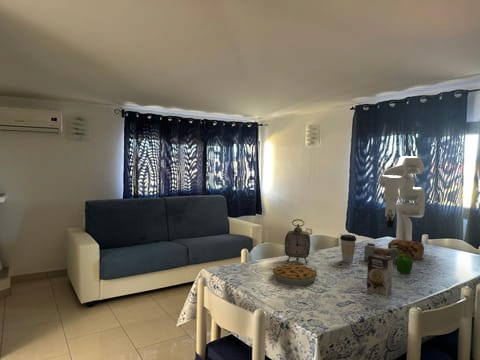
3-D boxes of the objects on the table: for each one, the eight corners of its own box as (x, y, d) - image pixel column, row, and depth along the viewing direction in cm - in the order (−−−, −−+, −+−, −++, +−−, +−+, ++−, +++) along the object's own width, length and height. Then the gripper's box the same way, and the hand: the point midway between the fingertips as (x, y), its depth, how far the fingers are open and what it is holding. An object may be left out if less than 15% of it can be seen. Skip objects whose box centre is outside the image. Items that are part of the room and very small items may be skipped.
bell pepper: (410, 271, 182) (411, 252, 181) (413, 275, 174) (414, 256, 173) (393, 269, 184) (394, 251, 184) (396, 274, 176) (397, 255, 176)
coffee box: (366, 290, 153) (367, 255, 152) (372, 286, 158) (373, 252, 157) (386, 296, 147) (387, 259, 146) (392, 292, 151) (393, 256, 150)
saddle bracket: (390, 260, 202) (391, 245, 201) (396, 261, 200) (396, 246, 200) (390, 264, 194) (390, 248, 194) (395, 264, 193) (396, 249, 192)
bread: (424, 257, 209) (424, 241, 209) (416, 260, 202) (417, 244, 202) (394, 251, 224) (395, 236, 223) (386, 254, 217) (387, 238, 216)
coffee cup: (353, 258, 204) (354, 234, 203) (357, 263, 194) (358, 237, 193) (337, 258, 205) (338, 233, 204) (340, 262, 195) (341, 237, 194)
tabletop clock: (284, 262, 194) (285, 219, 192) (285, 258, 202) (286, 217, 201) (309, 264, 190) (310, 221, 189) (310, 260, 199) (311, 218, 198)
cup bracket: (365, 257, 208) (366, 242, 207) (374, 258, 206) (375, 243, 205) (364, 260, 200) (364, 245, 200) (373, 261, 198) (373, 246, 197)
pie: (265, 274, 174) (265, 264, 173) (302, 270, 181) (302, 261, 181) (285, 289, 153) (285, 278, 153) (325, 283, 161) (326, 273, 161)
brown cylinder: (368, 254, 201) (368, 247, 200) (369, 252, 205) (369, 245, 204) (398, 258, 194) (398, 251, 193) (398, 255, 198) (398, 248, 197)
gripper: (385, 195, 207) (384, 223, 209) (383, 198, 192) (382, 228, 193) (398, 196, 204) (397, 224, 205) (397, 199, 189) (396, 229, 190)
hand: (390, 225), depth 199 cm, fingers open, 9 cm apart
